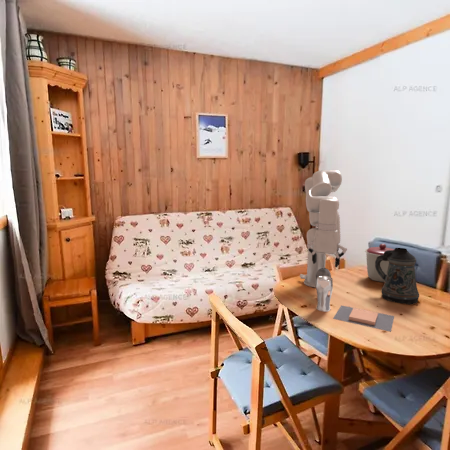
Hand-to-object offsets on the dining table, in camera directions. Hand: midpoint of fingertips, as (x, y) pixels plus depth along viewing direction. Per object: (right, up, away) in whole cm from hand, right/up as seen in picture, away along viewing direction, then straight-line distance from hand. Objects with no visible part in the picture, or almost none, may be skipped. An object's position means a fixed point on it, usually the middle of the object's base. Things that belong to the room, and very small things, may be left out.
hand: (325, 264), depth 143 cm
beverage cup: (+3, -19, +16) cm, 25 cm away
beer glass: (0, -21, +3) cm, 21 cm away
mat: (+14, -22, -6) cm, 27 cm away
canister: (+46, -14, +44) cm, 65 cm away
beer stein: (+40, -19, +16) cm, 47 cm away
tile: (+17, -20, -3) cm, 26 cm away
